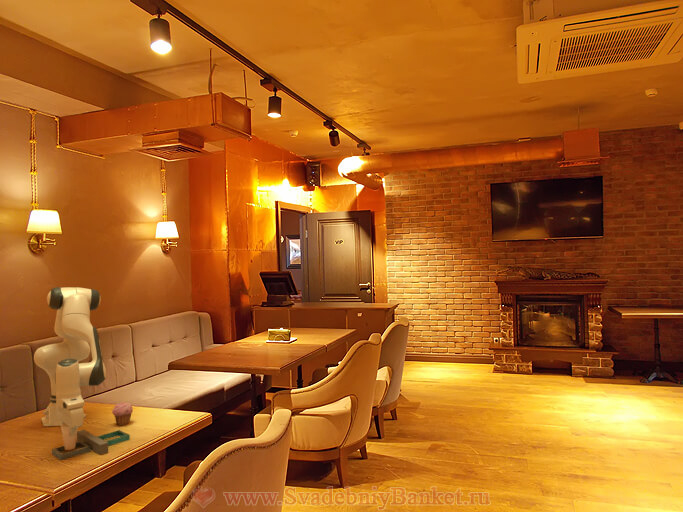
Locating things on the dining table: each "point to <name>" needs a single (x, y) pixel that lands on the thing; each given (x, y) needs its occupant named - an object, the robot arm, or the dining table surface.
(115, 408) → the cupcake
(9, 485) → the dining table surface
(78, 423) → the robot arm
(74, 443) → the smoothie
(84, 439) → the door edge
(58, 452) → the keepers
